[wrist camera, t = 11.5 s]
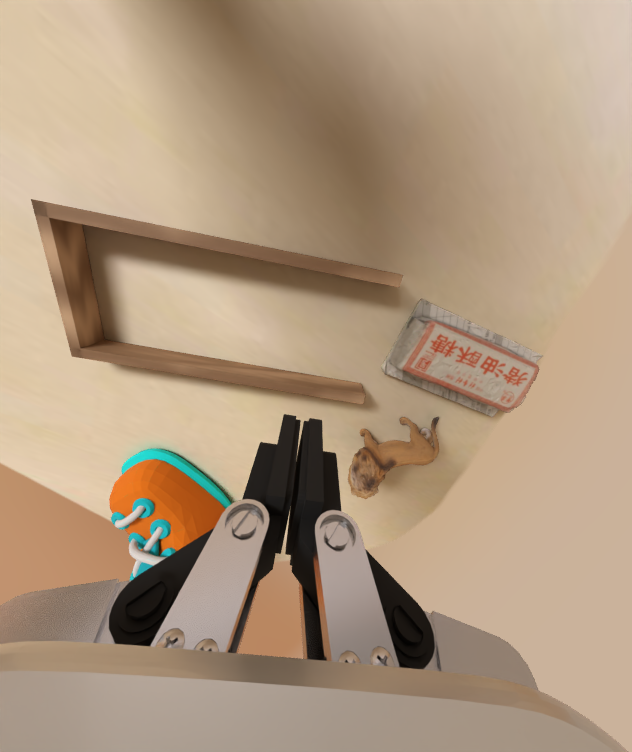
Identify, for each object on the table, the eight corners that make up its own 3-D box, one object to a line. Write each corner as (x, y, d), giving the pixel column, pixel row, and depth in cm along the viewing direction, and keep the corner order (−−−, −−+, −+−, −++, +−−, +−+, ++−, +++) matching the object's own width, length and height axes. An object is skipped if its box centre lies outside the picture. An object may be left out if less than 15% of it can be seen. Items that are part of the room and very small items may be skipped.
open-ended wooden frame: (66, 206, 25) (31, 199, 22) (393, 273, 28) (403, 274, 25) (96, 346, 32) (71, 356, 29) (358, 391, 34) (362, 404, 31)
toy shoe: (163, 433, 38) (77, 530, 24) (246, 506, 45) (215, 612, 31) (114, 465, 41) (12, 567, 27) (199, 528, 48) (151, 635, 34)
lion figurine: (351, 460, 40) (359, 512, 32) (337, 437, 38) (342, 485, 30) (441, 427, 37) (476, 475, 29) (431, 400, 35) (465, 442, 27)
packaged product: (386, 384, 29) (435, 303, 25) (377, 368, 33) (417, 297, 29) (509, 432, 32) (571, 367, 28) (486, 411, 36) (536, 352, 32)
